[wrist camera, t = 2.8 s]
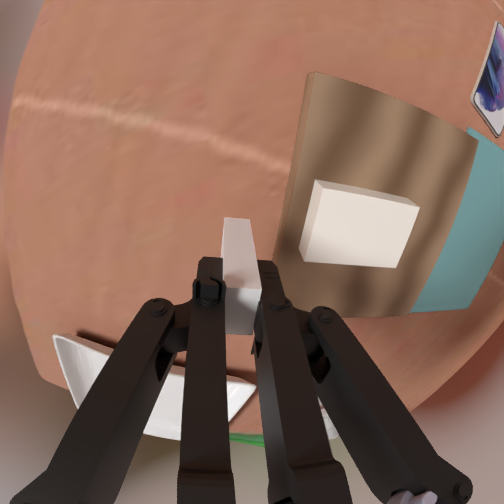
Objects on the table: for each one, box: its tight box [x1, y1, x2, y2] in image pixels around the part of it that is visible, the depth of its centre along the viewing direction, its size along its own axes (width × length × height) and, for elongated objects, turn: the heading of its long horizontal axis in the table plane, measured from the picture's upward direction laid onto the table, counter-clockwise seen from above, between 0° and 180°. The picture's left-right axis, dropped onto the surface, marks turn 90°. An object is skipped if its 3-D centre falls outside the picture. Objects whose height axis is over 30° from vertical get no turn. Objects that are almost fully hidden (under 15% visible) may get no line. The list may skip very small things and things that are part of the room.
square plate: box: [52, 334, 257, 440], centre depth 36 cm, size 27×27×4 cm
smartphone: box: [470, 21, 504, 137], centre depth 15 cm, size 7×1×15 cm
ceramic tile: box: [299, 180, 420, 268], centre depth 21 cm, size 9×6×2 cm, turn 82°
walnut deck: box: [272, 72, 479, 318], centre depth 23 cm, size 18×22×2 cm
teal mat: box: [410, 127, 504, 313], centre depth 26 cm, size 16×24×1 cm, turn 172°
